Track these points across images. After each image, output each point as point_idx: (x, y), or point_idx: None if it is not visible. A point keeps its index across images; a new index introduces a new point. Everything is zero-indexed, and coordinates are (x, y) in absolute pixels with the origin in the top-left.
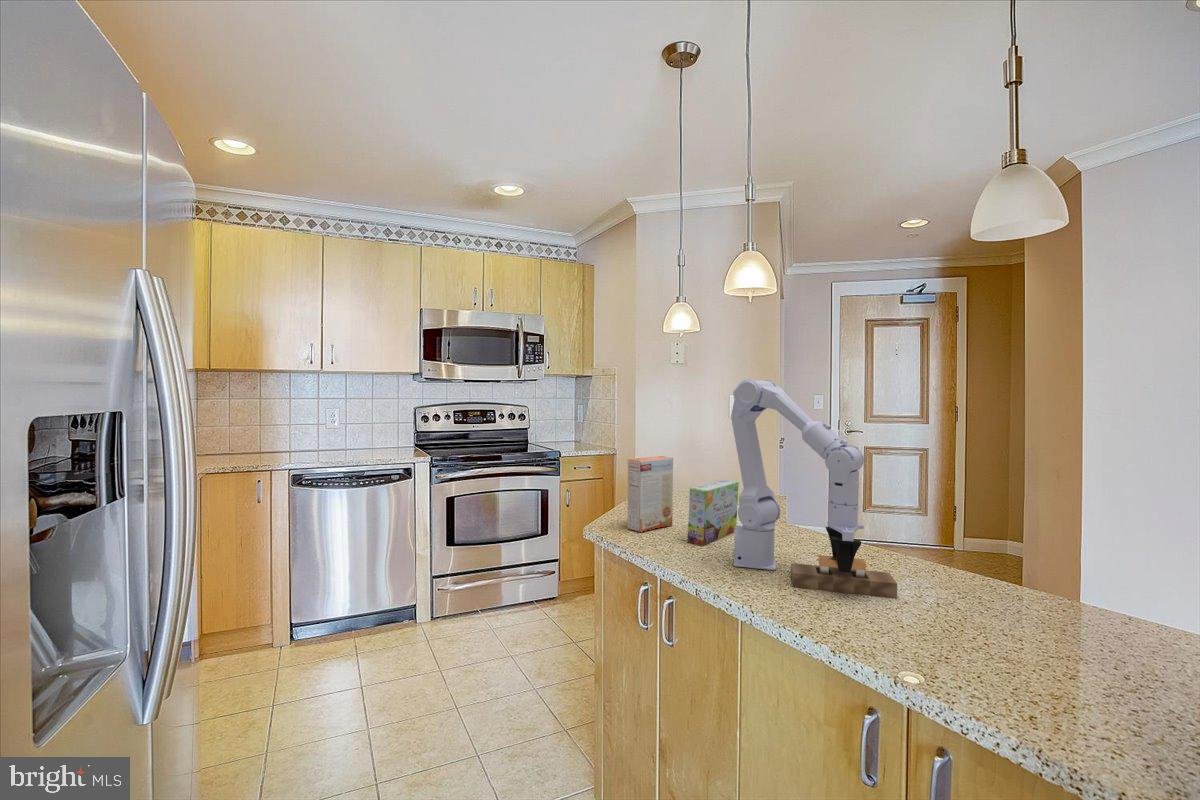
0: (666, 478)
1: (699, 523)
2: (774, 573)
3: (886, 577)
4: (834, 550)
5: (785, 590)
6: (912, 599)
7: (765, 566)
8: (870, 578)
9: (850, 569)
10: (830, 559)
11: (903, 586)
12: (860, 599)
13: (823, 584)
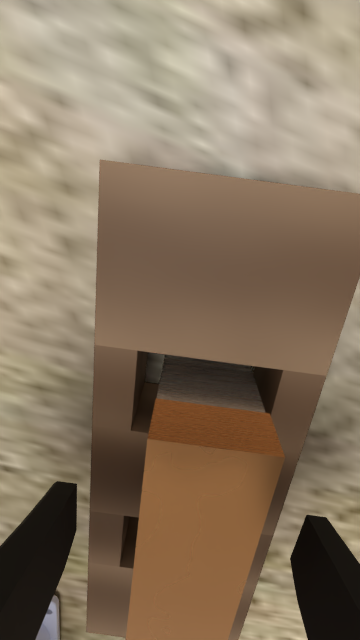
0: None
1: None
2: (85, 597)
3: (239, 234)
4: (38, 614)
5: (266, 602)
6: (349, 93)
7: (43, 625)
8: (276, 359)
9: (340, 540)
10: (215, 635)
11: (92, 52)
12: (352, 394)
13: None
